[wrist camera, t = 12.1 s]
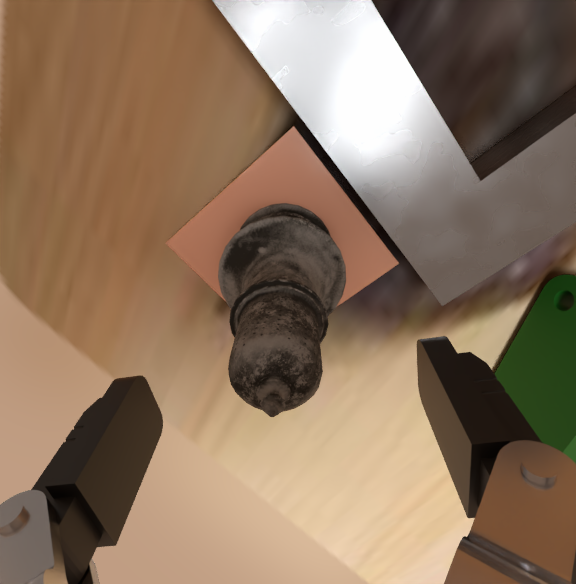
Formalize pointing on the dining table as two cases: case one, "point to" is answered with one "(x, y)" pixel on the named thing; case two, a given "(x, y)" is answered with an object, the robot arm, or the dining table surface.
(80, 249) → the dining table surface
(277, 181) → the tile
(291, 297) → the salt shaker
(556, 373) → the clamp
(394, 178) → the grey square frame
